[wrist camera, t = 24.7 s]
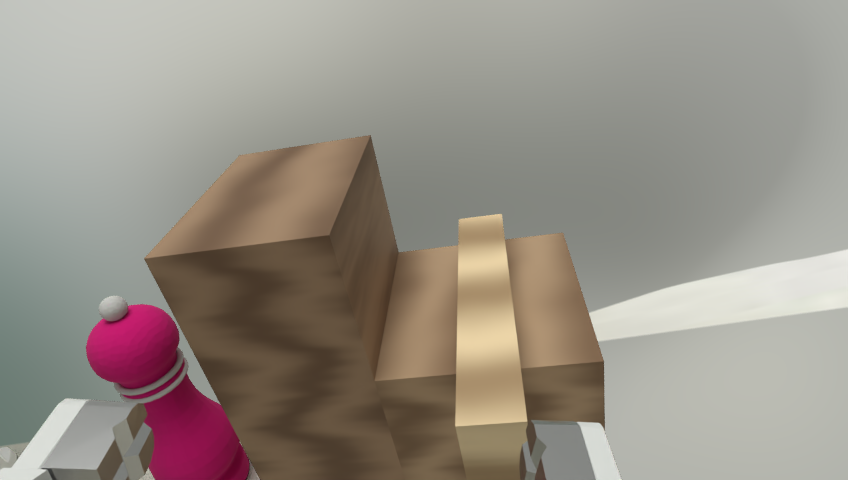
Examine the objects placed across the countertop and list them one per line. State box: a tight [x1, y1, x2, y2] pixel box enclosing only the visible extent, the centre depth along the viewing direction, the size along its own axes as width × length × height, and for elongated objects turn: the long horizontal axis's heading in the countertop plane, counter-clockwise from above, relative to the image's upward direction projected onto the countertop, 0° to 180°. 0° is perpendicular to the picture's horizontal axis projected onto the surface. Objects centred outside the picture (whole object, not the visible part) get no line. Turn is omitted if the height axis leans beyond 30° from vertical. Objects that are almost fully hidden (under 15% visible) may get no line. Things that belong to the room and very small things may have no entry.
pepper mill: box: [86, 296, 249, 480], centre depth 42 cm, size 7×7×20 cm
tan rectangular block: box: [455, 214, 528, 480], centre depth 31 cm, size 18×3×4 cm, turn 176°
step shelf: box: [144, 135, 605, 480], centre depth 39 cm, size 23×14×26 cm, turn 86°
